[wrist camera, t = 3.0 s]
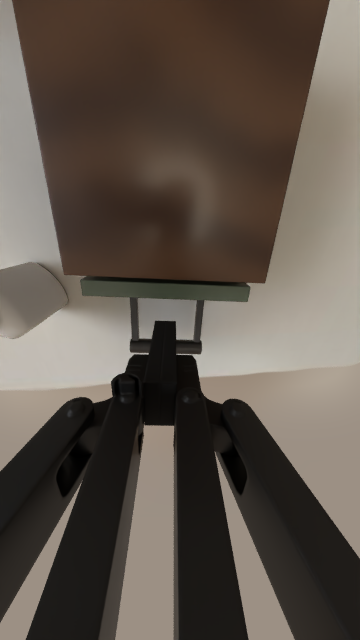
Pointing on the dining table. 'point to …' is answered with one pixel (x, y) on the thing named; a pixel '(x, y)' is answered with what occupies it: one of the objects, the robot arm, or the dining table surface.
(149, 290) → the drawer
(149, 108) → the cabinet
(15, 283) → the eye dropper bottle
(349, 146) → the dining table surface
